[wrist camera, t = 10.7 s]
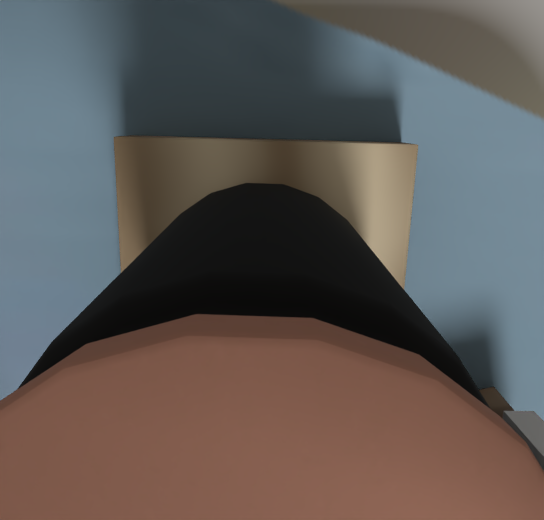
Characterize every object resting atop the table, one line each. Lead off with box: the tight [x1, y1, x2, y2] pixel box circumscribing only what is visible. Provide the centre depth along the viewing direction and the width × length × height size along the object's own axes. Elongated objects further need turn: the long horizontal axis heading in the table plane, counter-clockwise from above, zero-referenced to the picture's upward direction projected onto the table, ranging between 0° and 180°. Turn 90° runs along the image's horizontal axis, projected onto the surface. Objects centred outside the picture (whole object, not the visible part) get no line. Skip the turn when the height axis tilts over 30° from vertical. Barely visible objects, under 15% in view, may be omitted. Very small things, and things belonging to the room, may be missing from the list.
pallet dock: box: [114, 135, 418, 289], centre depth 26 cm, size 14×14×3 cm
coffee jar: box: [0, 183, 544, 520], centre depth 16 cm, size 11×11×18 cm
